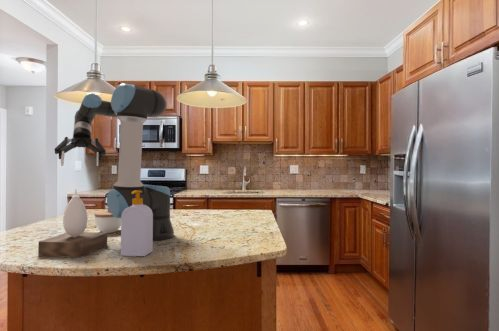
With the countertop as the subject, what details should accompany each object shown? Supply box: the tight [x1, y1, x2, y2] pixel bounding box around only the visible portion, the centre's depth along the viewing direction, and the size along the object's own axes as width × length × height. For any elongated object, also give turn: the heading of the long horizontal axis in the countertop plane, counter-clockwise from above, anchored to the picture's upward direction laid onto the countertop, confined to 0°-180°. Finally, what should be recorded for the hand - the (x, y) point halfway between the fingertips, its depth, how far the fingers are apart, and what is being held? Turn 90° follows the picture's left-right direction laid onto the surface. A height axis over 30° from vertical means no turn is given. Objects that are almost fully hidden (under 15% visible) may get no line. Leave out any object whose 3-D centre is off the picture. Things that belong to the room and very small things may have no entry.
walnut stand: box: [37, 231, 108, 258], centre depth 112 cm, size 16×16×5 cm
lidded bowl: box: [94, 208, 121, 234], centre depth 145 cm, size 13×13×11 cm
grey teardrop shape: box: [62, 189, 88, 237], centre depth 112 cm, size 8×8×18 cm
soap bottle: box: [120, 190, 154, 257], centre depth 108 cm, size 9×7×23 cm
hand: (80, 163), depth 132 cm, fingers open, 13 cm apart
